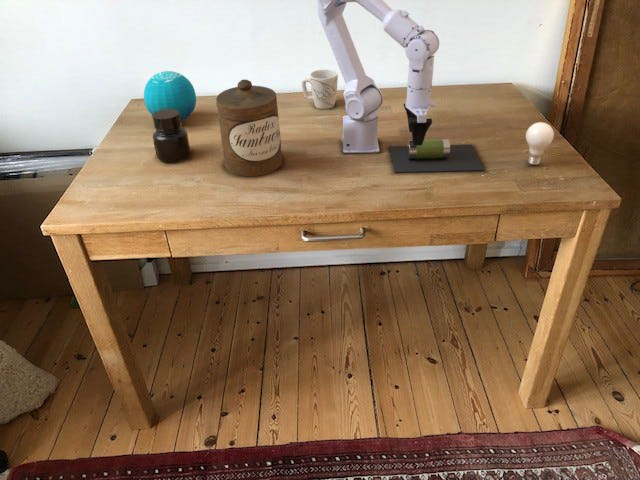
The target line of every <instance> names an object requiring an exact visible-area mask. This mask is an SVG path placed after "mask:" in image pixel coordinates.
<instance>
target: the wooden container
mask: <svg viewBox="0 0 640 480" xmlns="http://www.w3.org/2000/svg"><path fill="white" fill-rule="evenodd" d="M215 101H216V102H215V103H216V109H217V113H218V114H217V115H218V123H219V129H220V130H219V131H220V139H221V140H220V141H221V147H222V154H223V160H224V166H225V169H226V170H227V172H229V173H232V174H234V175H237V176H243V177H258V176H262V175H267V174H270V173H272V172H274V171H275V170H277V169H278V168H279V167H280V166H281V165H282V162H283V156H282V139H281V129H280V128H281V127H280V120H279V109H278V98H277V93H276V92H275V90H274V89H272V88H270V87H267V86H261V85H253V83H252V81H251V80H249V79H241V80H240V81H238V82H237V86H235V87H232V88H228V89H225V90H223V91H221V92H220V93H219V94H218V95H217V96H216V98H215Z"/></svg>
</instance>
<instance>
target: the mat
mask: <svg viewBox="0 0 640 480" xmlns="http://www.w3.org/2000/svg"><path fill="white" fill-rule="evenodd" d="M389 152H390V155H391V156H390V157H391V160H392V166H393V170H394V174H411V173H412V174H413V173H415V174H417V173H458V172H459V173H460V172H461V173H463V172H485V168H484V166H483V164H482V163H481V160H480V158H479V156H478V154H477V152H476V150H475V148H474V146H473V144H450V155H449V158H441V159H408V158H407V145H404V146H403V145H398V146H397V145H395V146H392V145H391V146H389Z"/></svg>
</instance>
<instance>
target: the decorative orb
mask: <svg viewBox="0 0 640 480" xmlns="http://www.w3.org/2000/svg"><path fill="white" fill-rule="evenodd" d="M143 101H144V105H145V107H146V109H147V111H148V112H149V114H150V115H151V116H152V115H153V113H155V112H156V111H159V110H163V109H175V110H178V111H179V114H180V119H181V123H182V122H184V121H185V120H187V119H188V118H190V116H191V115H192V114H193V112H194V110H195V108H196V105H197V95H196V91H195V88H194V85H193V83H192V82H191V81H190V80H189V78H187V77H186V76H184V75H183V74H181V73H179V72H177V71H172V70H163V71H160V72H157V73H155V74H153V75H152V76H151V77H150V79H148V80H147V82H146V84H145V86H144V90H143Z"/></svg>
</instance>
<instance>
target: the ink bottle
mask: <svg viewBox="0 0 640 480" xmlns="http://www.w3.org/2000/svg"><path fill="white" fill-rule="evenodd" d="M151 118H152V122H153V126H154V130H155V131H154V132H153V133H152V141H153V147H154V151H155V154H156V158H157V159H158V160H159V161H160V162H163V163H166V164H167V163H168V164H171V163H172V164H173V163H178V162H182V161H184V160H187V158H189V157H190V156H191V154H192V153H191V145H190V140H189V135H188V131H187V130H186V128H184V127H183V126H182V122H181V119H180V114H179V111H178V110H175V109H163V110H159V111H156V112H155V113H153V115H152V114H151Z"/></svg>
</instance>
